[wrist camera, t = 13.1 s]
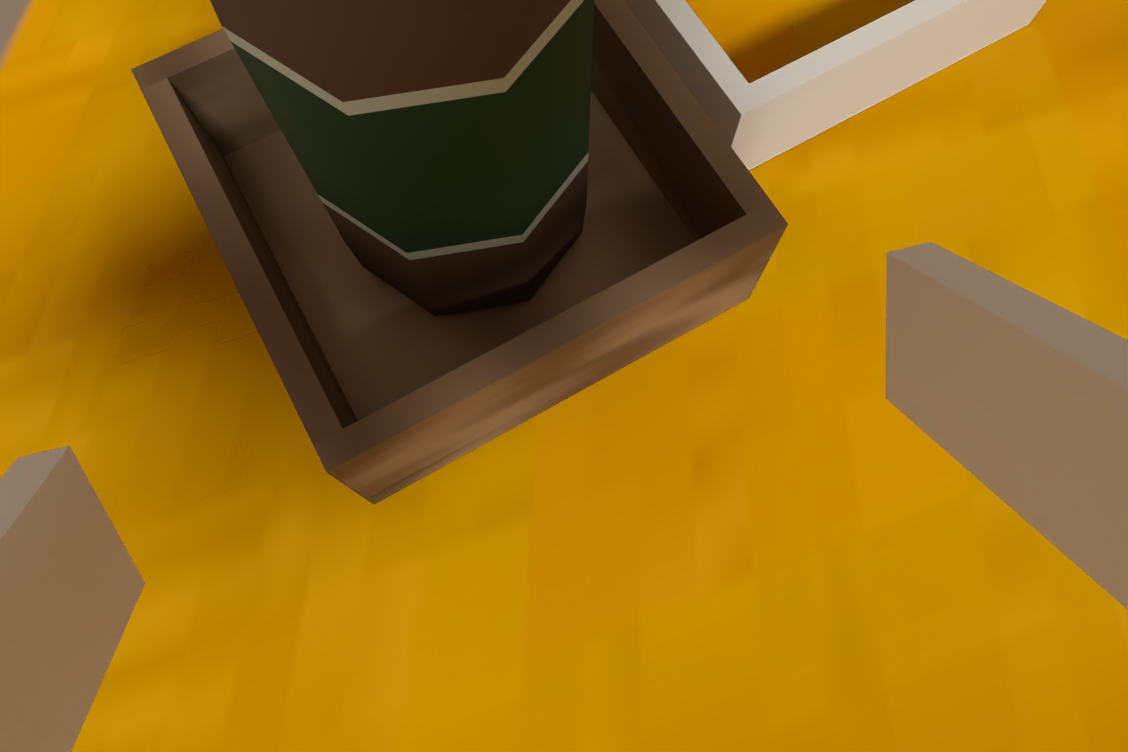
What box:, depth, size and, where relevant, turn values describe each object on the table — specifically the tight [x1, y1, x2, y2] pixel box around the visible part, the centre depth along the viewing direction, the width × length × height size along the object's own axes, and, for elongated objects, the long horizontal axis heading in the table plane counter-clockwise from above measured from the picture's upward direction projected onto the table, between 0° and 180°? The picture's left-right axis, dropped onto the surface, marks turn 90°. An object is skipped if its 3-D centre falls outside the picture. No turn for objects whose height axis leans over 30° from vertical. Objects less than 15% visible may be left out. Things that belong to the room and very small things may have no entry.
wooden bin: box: [131, 0, 788, 504], centre depth 25 cm, size 14×14×5 cm
